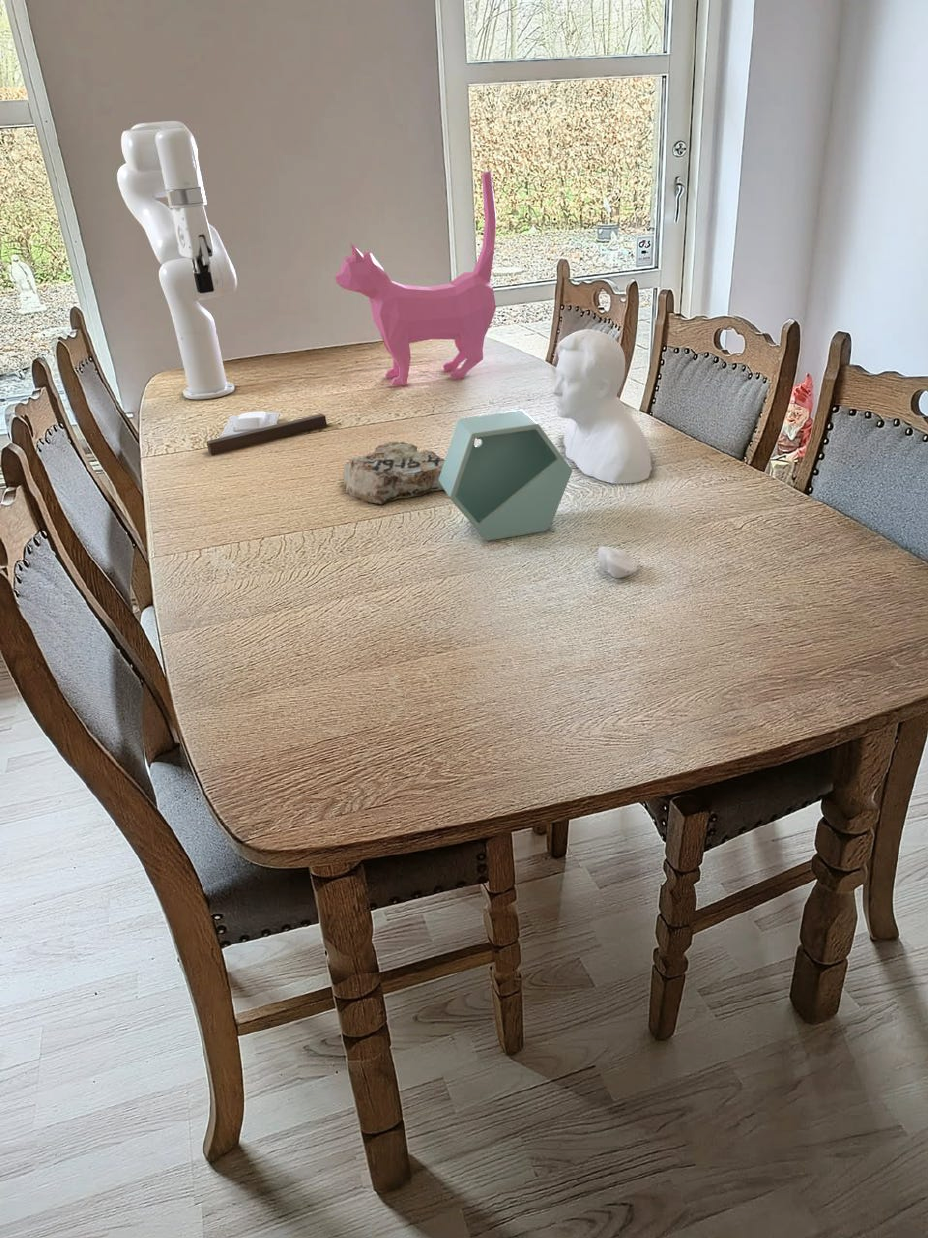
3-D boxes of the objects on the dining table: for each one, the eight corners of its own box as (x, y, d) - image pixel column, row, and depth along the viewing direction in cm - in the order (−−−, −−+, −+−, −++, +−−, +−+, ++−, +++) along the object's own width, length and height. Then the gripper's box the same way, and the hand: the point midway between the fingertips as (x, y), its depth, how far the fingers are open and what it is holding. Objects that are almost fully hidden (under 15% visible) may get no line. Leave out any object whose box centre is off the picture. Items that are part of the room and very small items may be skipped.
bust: (520, 445, 170) (516, 321, 158) (605, 427, 175) (607, 306, 163) (591, 492, 147) (593, 352, 135) (686, 470, 153) (695, 334, 141)
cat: (346, 381, 219) (320, 183, 196) (495, 362, 226) (487, 169, 203) (352, 394, 208) (325, 186, 185) (509, 374, 215) (502, 171, 192)
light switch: (217, 425, 182) (228, 404, 192) (221, 444, 184) (232, 422, 195) (268, 422, 182) (276, 400, 193) (272, 440, 184) (279, 418, 195)
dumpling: (588, 570, 124) (592, 543, 122) (621, 569, 125) (625, 543, 124) (610, 583, 117) (613, 554, 116) (644, 582, 119) (648, 554, 118)
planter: (506, 564, 136) (427, 472, 125) (492, 544, 143) (416, 454, 132) (591, 495, 134) (517, 395, 123) (573, 478, 140) (502, 381, 129)
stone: (359, 484, 143) (319, 438, 162) (363, 515, 146) (323, 467, 165) (465, 462, 149) (414, 421, 168) (466, 493, 152) (416, 449, 171)
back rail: (208, 452, 178) (206, 441, 176) (323, 424, 189) (321, 413, 188) (211, 455, 176) (209, 443, 175) (327, 426, 188) (325, 415, 186)
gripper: (158, 198, 181) (178, 290, 191) (179, 201, 170) (200, 299, 179) (193, 194, 184) (211, 285, 194) (216, 197, 173) (234, 293, 183)
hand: (206, 291), depth 187 cm, fingers closed
